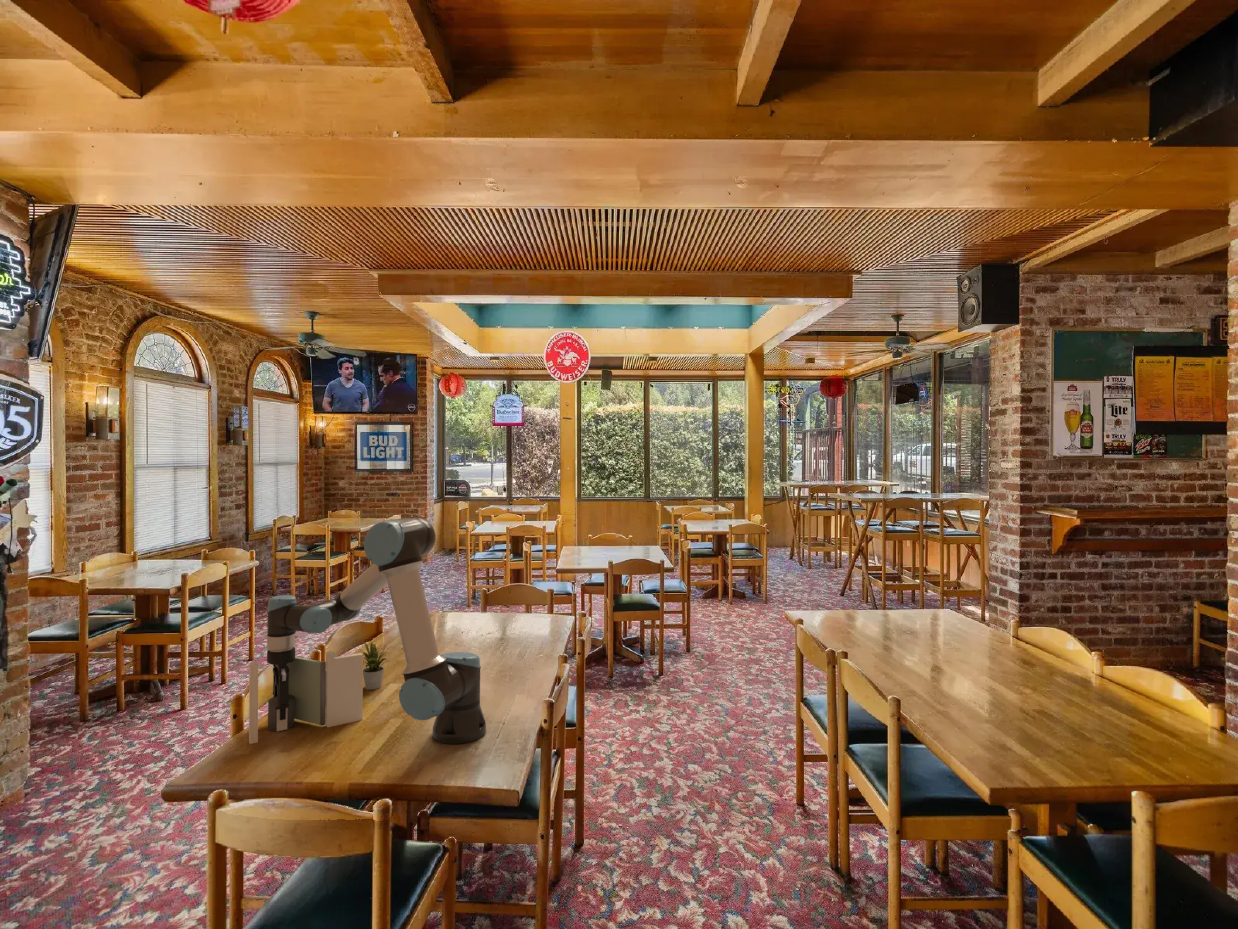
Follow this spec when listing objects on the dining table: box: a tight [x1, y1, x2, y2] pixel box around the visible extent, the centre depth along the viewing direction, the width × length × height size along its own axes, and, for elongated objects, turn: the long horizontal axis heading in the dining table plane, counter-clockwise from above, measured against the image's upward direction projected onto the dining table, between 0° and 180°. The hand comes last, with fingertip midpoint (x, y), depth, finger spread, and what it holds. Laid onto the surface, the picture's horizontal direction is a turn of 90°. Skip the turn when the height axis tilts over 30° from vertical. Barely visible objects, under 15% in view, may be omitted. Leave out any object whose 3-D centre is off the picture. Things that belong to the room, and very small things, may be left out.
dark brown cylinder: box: [267, 695, 295, 732], centre depth 191 cm, size 7×7×8 cm
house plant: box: [350, 640, 393, 691], centre depth 224 cm, size 14×14×16 cm
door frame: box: [248, 650, 364, 745], centre depth 188 cm, size 2×30×22 cm, turn 125°
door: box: [287, 655, 326, 726], centre depth 193 cm, size 1×17×18 cm, turn 65°
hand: (280, 725), depth 190 cm, fingers closed on dark brown cylinder, 7 cm apart
